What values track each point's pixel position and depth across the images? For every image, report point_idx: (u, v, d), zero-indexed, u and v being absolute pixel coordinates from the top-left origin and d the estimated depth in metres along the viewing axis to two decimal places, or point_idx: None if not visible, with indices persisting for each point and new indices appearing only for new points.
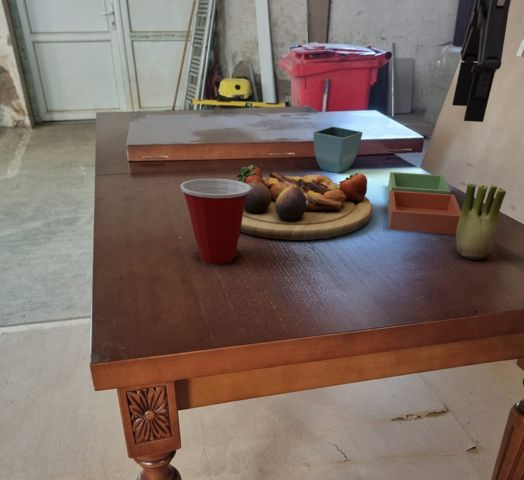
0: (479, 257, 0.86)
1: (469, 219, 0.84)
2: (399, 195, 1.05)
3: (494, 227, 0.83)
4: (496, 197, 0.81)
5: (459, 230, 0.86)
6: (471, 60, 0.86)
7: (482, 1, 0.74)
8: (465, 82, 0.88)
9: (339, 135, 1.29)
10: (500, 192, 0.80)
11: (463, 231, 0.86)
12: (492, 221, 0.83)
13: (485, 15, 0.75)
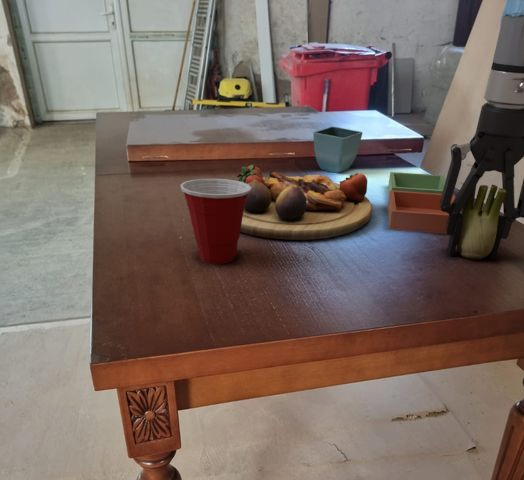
0: (479, 257, 0.86)
1: (469, 219, 0.84)
2: (399, 195, 1.05)
3: (494, 227, 0.83)
4: (497, 197, 0.81)
5: (460, 230, 0.86)
6: None
7: (514, 153, 0.77)
8: None
9: (339, 135, 1.29)
10: (501, 192, 0.80)
11: (463, 231, 0.86)
12: (492, 221, 0.83)
13: (515, 163, 0.78)
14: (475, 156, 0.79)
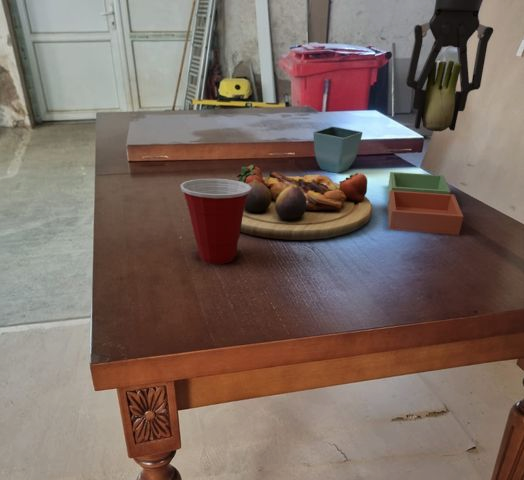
0: (441, 128, 1.00)
1: (432, 93, 0.99)
2: (399, 195, 1.05)
3: (452, 99, 0.98)
4: (453, 70, 0.95)
5: (424, 105, 1.01)
6: None
7: (466, 28, 0.92)
8: None
9: (339, 135, 1.29)
10: (456, 65, 0.95)
11: (427, 105, 1.00)
12: (451, 93, 0.97)
13: (468, 38, 0.93)
14: (434, 33, 0.93)
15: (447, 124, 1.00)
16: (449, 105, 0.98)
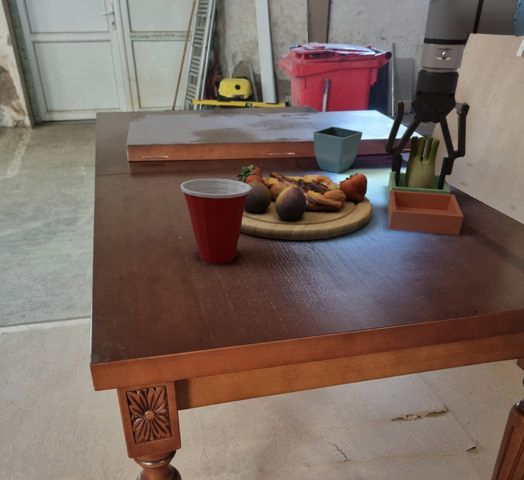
0: None
1: (414, 164, 1.09)
2: (399, 195, 1.05)
3: (432, 170, 1.08)
4: (433, 145, 1.05)
5: (407, 173, 1.11)
6: None
7: (443, 107, 1.01)
8: None
9: (339, 135, 1.29)
10: (435, 141, 1.05)
11: (409, 174, 1.10)
12: (430, 164, 1.07)
13: None
14: (415, 110, 1.03)
15: None
16: (429, 175, 1.08)
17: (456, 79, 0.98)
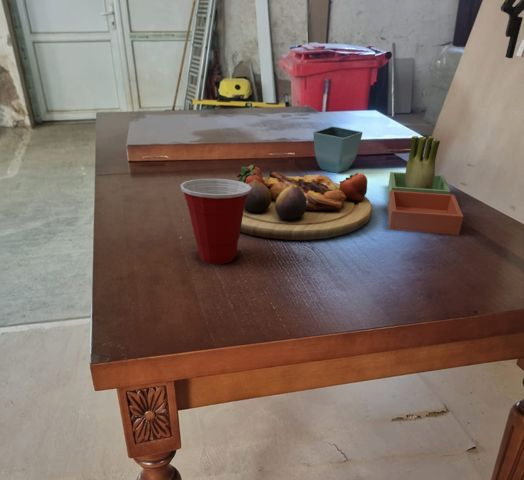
0: None
1: (414, 164, 1.09)
2: (399, 195, 1.05)
3: (432, 170, 1.08)
4: (432, 145, 1.05)
5: (407, 173, 1.11)
6: None
7: None
8: None
9: (339, 135, 1.29)
10: (435, 141, 1.05)
11: (409, 174, 1.10)
12: (430, 164, 1.07)
13: None
14: None
15: None
16: (429, 175, 1.08)
17: None
